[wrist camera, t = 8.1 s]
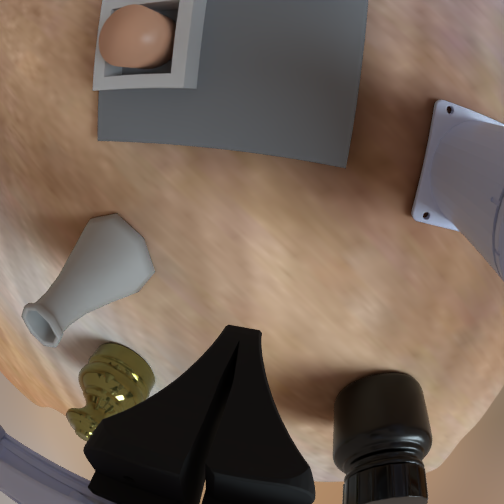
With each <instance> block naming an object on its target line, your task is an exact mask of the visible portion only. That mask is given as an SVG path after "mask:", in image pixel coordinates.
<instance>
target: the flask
mask: <svg viewBox="0 0 504 504" xmlns="http://www.w3.org/2000/svg"><path fill="white" fill-rule="evenodd" d="M154 273H155V270H154V267H153V264H152V261H151V258H150V255H149V252H148V249H147V246H146V243H145V240H144V238H143V237H142V236H141V235H140V234H139V233H138V232H136V231H135V230H134V229H133V228H132V227H131V226H130V225H129V224H128V223H127V222H126V221H125V220H124V219H122V218H121V217H120V216H119V215H118V214H117V213H116V214H111V215H106V216H102V217H97V218H92V219H90V220H89V222H88V223H87V225H86V227H85V229H84V230H83V232H82V234H81V236H80V238H79V240H78V241H77V243H76V245H75V247H74V249H73V251H72V252H71V254H70V256H69V258H68V260H67V261H66V263H65V265H64V267H63V269H62V271H61V272H60V274H59V276H58V277H57V278H56V280H55V281H54V282H53V284H52V285H51V286H50V288H49V289H48V291H47V292H46V293H45V294H44V295H43V296H42V297H41V298H40V299H39V300H38V301H37V302H35V303H28V304H26V305H25V306H24V309H23V313H22V318H23V320H24V322H25V324H26V326H27V327H28V329H29V331H30V333H31V334H32V335H33V336H34V337H35V338H37V339H38V340H39V341H40V342H41V343H42V344H43V345H44V346H49V347H56V346H57V345H58V344H59V342H60V340H61V338H62V336H63V332H64V331H65V330H66V329H67V328H68V326H69V325H71V324H72V323H74V322H75V321H76V320H78V319H79V318H81V317H82V316H83V315H85V314H86V313H89V312H91V311H93V310H95V309H98V308H100V307H102V306H104V305H107V304H109V303H111V302H114V301H116V300H119V299H122V298H124V297H127V296H129V295H132V294H134V293H137V292H139V291H140V289H141V288H142V287H143V286H144V285H145V283H146V282H147V281H148V280H149V279H150V277H151V276H152V275H153V274H154Z"/></svg>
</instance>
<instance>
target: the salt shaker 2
mask: <svg viewBox="0 0 504 504" xmlns="http://www.w3.org/2000/svg"><path fill="white" fill-rule="evenodd" d="M78 379H79V384H80V387H81V389H82V391H83V395H84V397H85V400H86V406H85V407H83V408H71V409H69V410H68V411H67V413H66V417H67V419H68V421H69V423H70V425H71V426H72V428H73V429H74V430H75V433H76V434H77V435H78V436H79V437H80V438H82V439H83V440H85V441H88V440H89V438H90V436H91V434H92V432H93V431H94V430H95V428H96V427H97V426H98V424H99V423H100V422H101V421H102V419H104V418H107V417H110V416H112V415H115V414H117V413H120V412H122V411H125V410H127V409H129V408H131V407H133V406H135V405H137V404H139V403H140V402H142V401H144V400H146V399H148V397H149V394H150V392H151V390H152V388H153V386H154V384H155V377H154V374H153V372H152V370H151V368H150V367H149V365H148V364H147V363H146V362H145V361H144V360H143V359H142V358H141V357H140V356H139V355H137V354H136V353H135V352H133V351H132V350H130V349H128V348H126V347H124V346H121V345H118V344H113V343H107V344H103V345H101V346H99V347H98V349H97V350H96V352H95V353H94V354H93V355H92V356H91V357H90V358H89V361H88V364H87V365H85V366H84V367H83V368H82V369H81V370H80V372H79V377H78Z"/></svg>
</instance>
